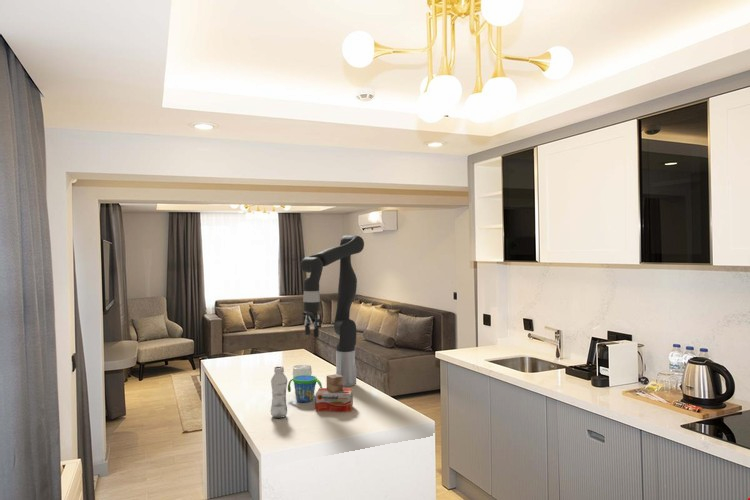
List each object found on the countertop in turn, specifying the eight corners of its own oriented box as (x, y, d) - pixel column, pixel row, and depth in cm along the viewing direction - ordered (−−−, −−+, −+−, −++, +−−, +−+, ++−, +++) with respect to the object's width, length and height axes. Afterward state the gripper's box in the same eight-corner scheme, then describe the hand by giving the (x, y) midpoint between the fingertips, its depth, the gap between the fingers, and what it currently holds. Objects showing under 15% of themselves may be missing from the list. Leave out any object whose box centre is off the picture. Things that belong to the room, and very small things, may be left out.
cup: (308, 395, 238) (308, 369, 238) (289, 394, 240) (289, 368, 240) (314, 390, 247) (314, 365, 247) (296, 389, 249) (296, 364, 249)
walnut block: (336, 387, 222) (336, 374, 222) (342, 390, 218) (342, 376, 218) (326, 389, 219) (326, 375, 219) (332, 392, 215) (332, 378, 215)
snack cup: (325, 398, 232) (325, 376, 233) (316, 405, 222) (316, 381, 222) (294, 395, 237) (294, 373, 237) (283, 402, 227) (283, 379, 227)
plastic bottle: (271, 414, 210) (271, 365, 210) (288, 414, 210) (288, 365, 210) (269, 419, 203) (269, 369, 203) (286, 419, 204) (286, 369, 204)
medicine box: (315, 412, 214) (315, 393, 214) (318, 406, 222) (318, 387, 222) (351, 412, 213) (351, 393, 213) (353, 406, 221) (353, 388, 221)
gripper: (326, 301, 231) (326, 337, 231) (311, 299, 243) (311, 333, 243) (311, 302, 227) (311, 338, 227) (297, 300, 239) (297, 334, 239)
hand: (311, 335), depth 235 cm, fingers open, 8 cm apart
